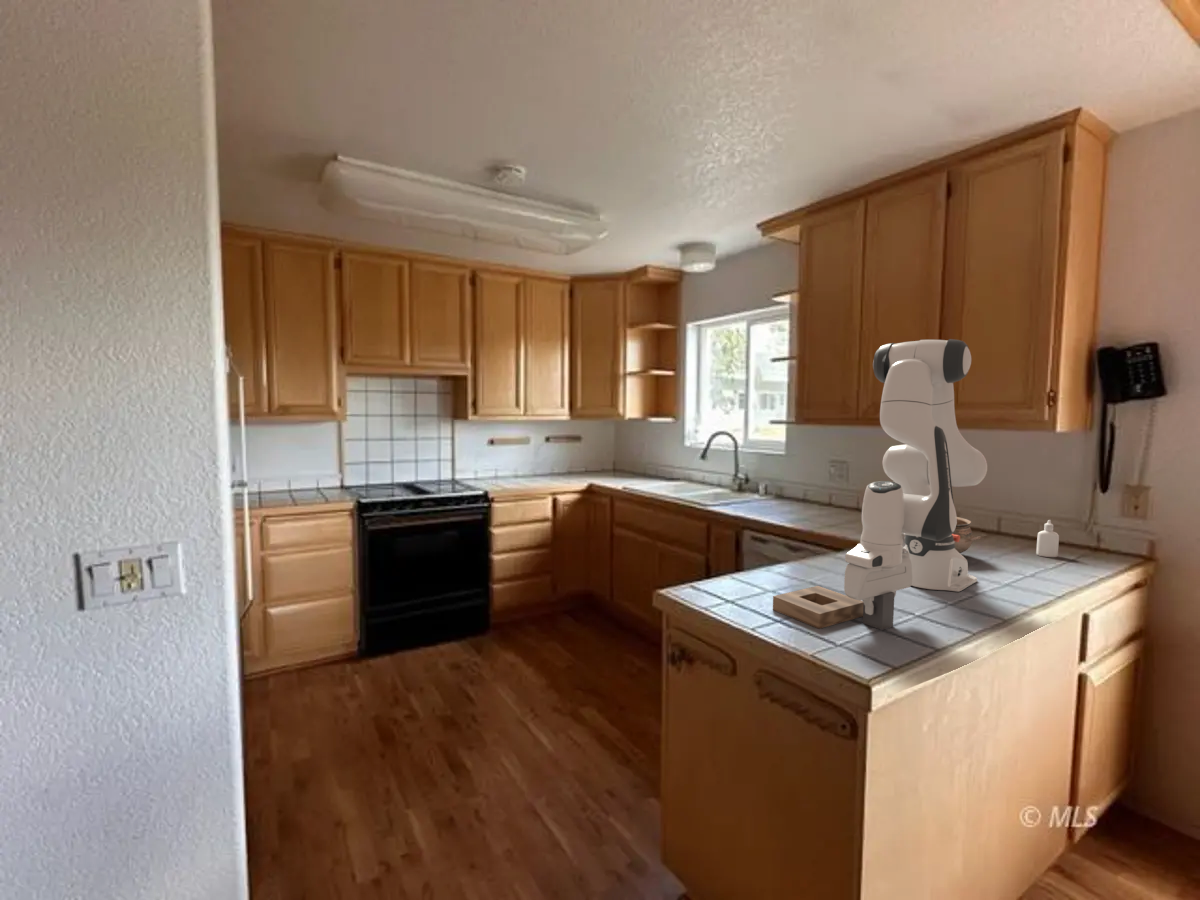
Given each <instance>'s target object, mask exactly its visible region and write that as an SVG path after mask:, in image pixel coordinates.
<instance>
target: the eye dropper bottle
mask: <svg viewBox="0 0 1200 900" xmlns="http://www.w3.org/2000/svg"><path fill="white" fill-rule="evenodd" d="M1059 541H1060V535H1059V534H1058V532H1056V531H1054V524H1053V523H1052V520H1051V519H1048V520H1047V522H1046V523H1044V524H1043V530H1041V531H1039V532H1037V539H1036V551H1035V554H1036V555H1037V556H1039V557H1046V558H1057V557H1058V556H1059V543H1060V542H1059Z"/></svg>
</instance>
